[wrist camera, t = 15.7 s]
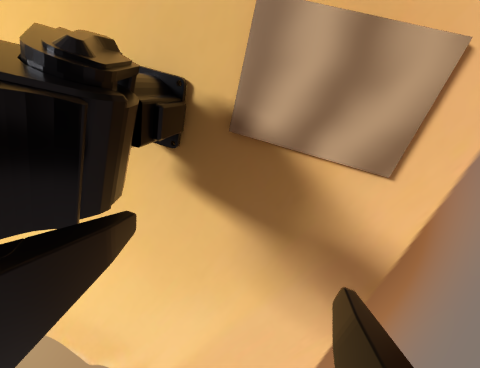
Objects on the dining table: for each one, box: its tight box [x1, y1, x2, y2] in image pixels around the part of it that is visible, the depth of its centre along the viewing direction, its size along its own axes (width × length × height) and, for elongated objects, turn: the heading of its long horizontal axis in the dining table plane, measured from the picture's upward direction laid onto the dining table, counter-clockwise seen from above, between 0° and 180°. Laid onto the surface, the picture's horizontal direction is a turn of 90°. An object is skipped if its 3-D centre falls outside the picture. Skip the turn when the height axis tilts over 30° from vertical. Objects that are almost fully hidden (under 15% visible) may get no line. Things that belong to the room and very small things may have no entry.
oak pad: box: [229, 0, 472, 178], centre depth 17 cm, size 14×10×1 cm
